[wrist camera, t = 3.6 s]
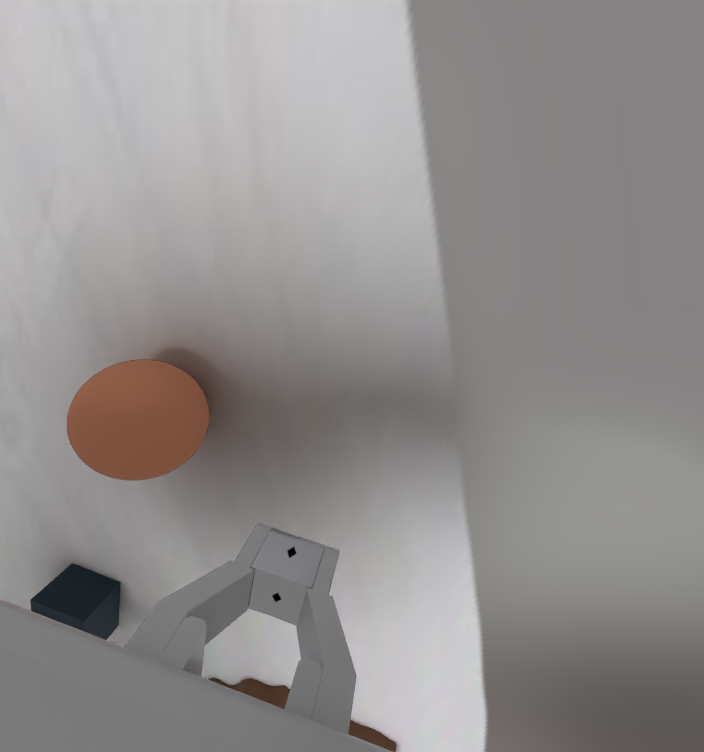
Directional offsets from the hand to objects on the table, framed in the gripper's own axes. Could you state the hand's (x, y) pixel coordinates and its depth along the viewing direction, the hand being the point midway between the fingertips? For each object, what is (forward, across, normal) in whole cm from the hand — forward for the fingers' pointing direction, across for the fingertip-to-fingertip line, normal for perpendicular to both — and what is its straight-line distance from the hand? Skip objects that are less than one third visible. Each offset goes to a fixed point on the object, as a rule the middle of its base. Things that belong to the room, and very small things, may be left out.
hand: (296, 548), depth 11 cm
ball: (+5, -10, 0) cm, 11 cm away
